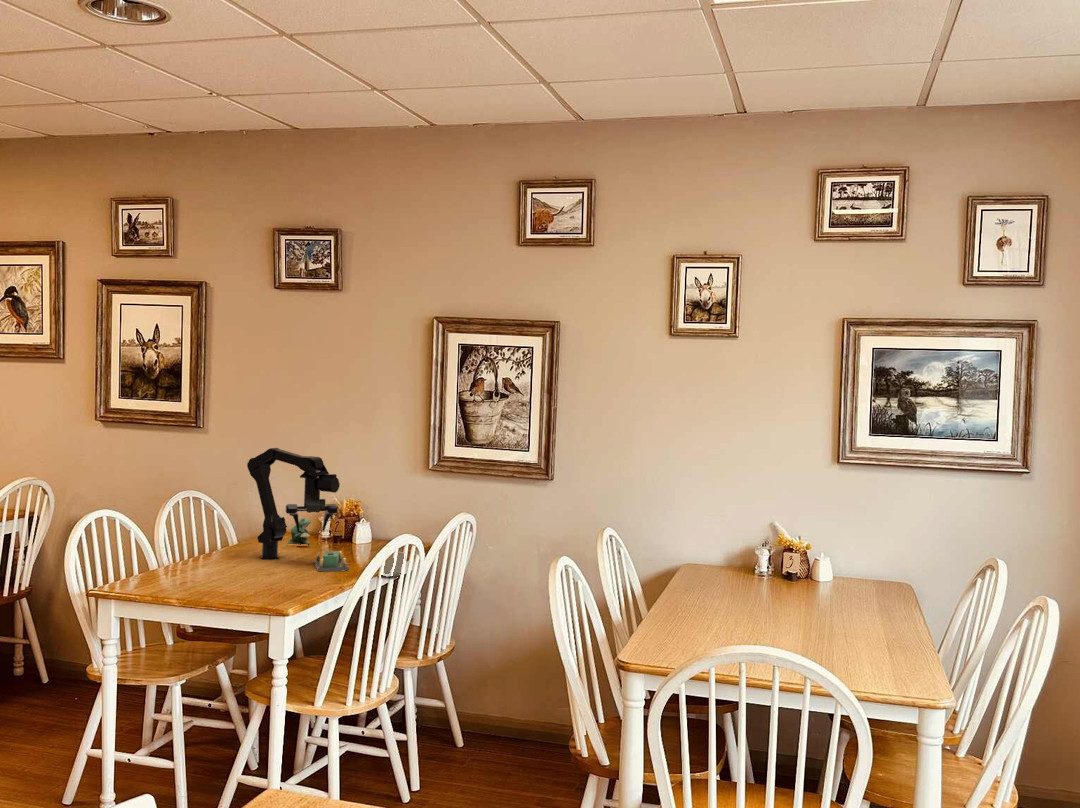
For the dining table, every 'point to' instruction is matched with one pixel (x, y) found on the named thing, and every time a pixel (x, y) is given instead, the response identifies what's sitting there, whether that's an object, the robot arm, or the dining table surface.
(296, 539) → the frog figurine
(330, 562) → the board
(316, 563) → the chassis
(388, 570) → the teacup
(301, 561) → the dining table surface
